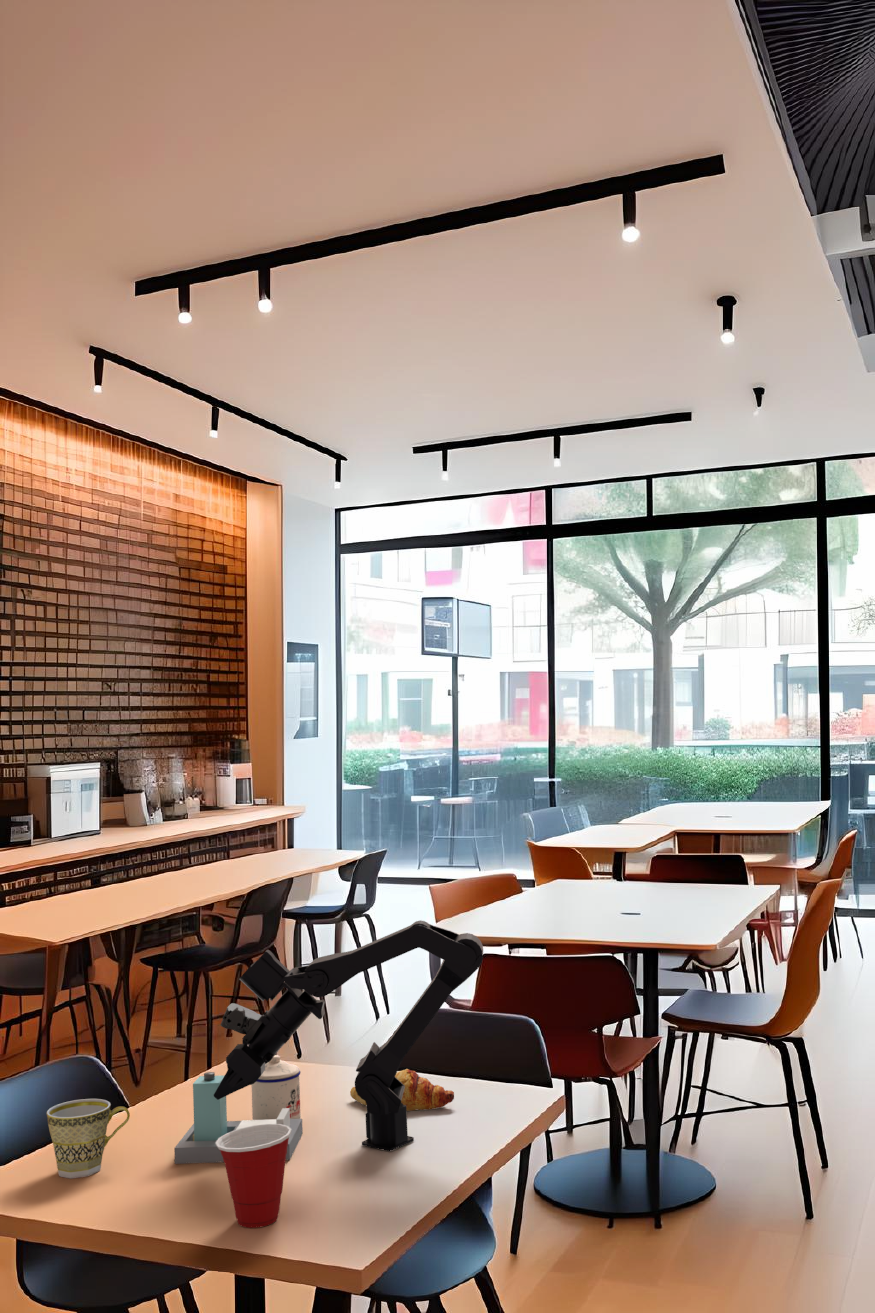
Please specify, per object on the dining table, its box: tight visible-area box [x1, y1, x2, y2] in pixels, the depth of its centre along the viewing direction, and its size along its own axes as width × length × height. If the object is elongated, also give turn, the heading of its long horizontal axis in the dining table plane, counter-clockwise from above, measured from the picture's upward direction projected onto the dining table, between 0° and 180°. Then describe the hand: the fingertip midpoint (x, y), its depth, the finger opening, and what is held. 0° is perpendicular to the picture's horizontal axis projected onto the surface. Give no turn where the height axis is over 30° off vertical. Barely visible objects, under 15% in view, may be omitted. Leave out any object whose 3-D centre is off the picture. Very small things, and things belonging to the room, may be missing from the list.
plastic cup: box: [216, 1124, 292, 1229], centre depth 162 cm, size 11×11×12 cm
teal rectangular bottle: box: [192, 1071, 228, 1141], centre depth 193 cm, size 5×4×12 cm
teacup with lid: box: [251, 1054, 302, 1120], centre depth 207 cm, size 12×9×12 cm
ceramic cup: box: [46, 1098, 130, 1179], centre depth 186 cm, size 13×10×10 cm
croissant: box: [350, 1068, 455, 1112], centre depth 212 cm, size 21×10×8 cm, turn 69°
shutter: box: [236, 1108, 290, 1130], centre depth 193 cm, size 8×8×3 cm
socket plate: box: [174, 1118, 304, 1165], centre depth 192 cm, size 19×13×2 cm
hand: (222, 1089), depth 193 cm, fingers open, 9 cm apart
